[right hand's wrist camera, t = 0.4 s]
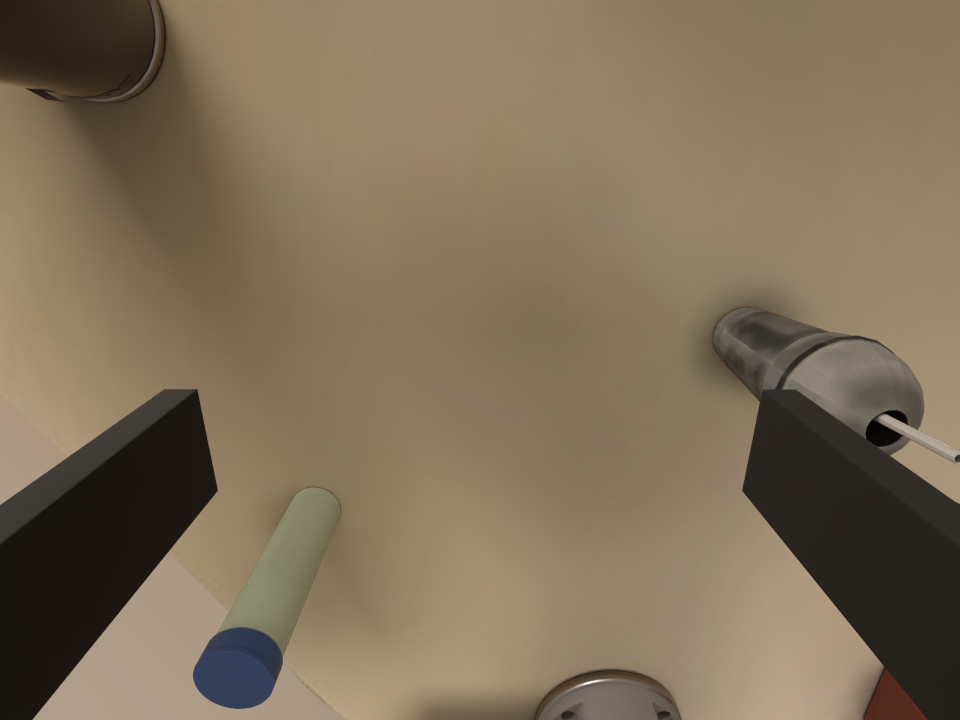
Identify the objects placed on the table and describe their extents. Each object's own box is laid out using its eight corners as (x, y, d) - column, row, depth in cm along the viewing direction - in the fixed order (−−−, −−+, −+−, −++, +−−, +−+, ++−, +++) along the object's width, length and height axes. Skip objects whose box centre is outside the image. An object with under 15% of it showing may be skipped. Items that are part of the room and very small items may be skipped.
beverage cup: (716, 394, 42) (903, 576, 24) (680, 320, 40) (854, 454, 21) (803, 350, 41) (1075, 505, 22) (770, 271, 39) (1041, 368, 20)
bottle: (299, 480, 45) (208, 638, 30) (346, 496, 46) (281, 659, 31) (286, 518, 47) (193, 688, 32) (332, 533, 47) (263, 707, 32)
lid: (215, 618, 31) (201, 642, 30) (291, 640, 32) (282, 664, 30) (199, 671, 33) (185, 696, 31) (272, 691, 33) (262, 717, 32)
